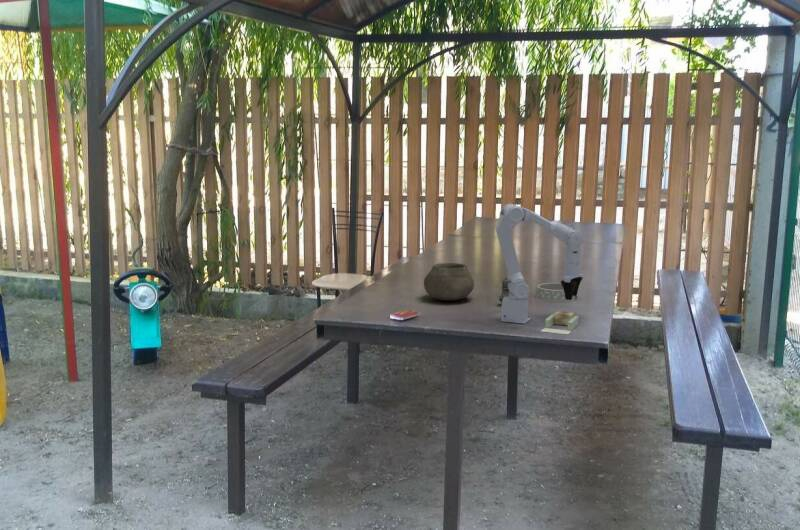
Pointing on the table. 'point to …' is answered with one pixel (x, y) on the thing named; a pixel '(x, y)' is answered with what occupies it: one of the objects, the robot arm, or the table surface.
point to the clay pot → (449, 281)
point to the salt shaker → (504, 290)
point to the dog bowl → (552, 293)
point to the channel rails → (571, 323)
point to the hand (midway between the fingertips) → (571, 297)
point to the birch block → (563, 317)
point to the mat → (555, 331)
